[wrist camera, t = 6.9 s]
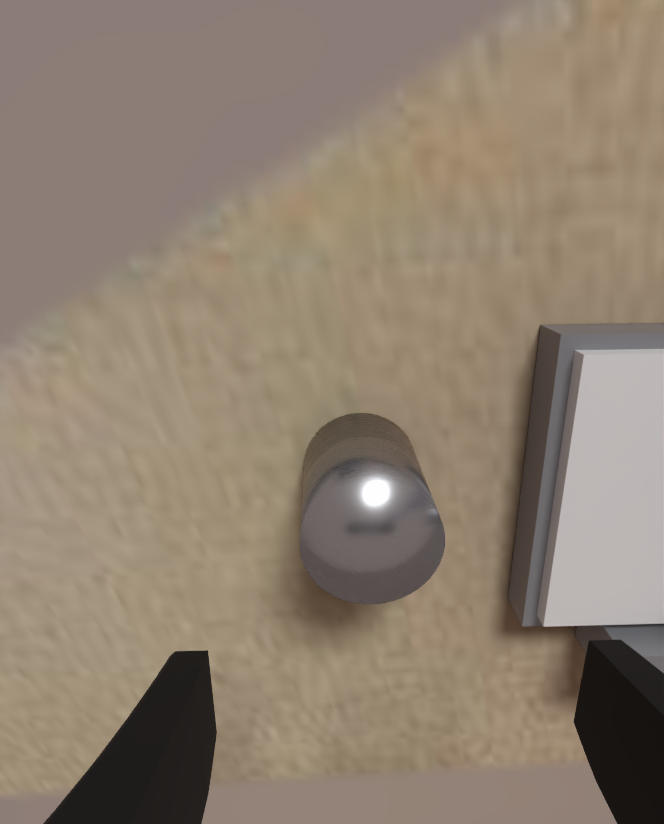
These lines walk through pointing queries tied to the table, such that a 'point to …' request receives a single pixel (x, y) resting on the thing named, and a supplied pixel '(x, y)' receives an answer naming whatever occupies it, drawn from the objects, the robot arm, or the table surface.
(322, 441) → the cylinder
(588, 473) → the scale
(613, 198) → the table surface
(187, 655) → the robot arm
